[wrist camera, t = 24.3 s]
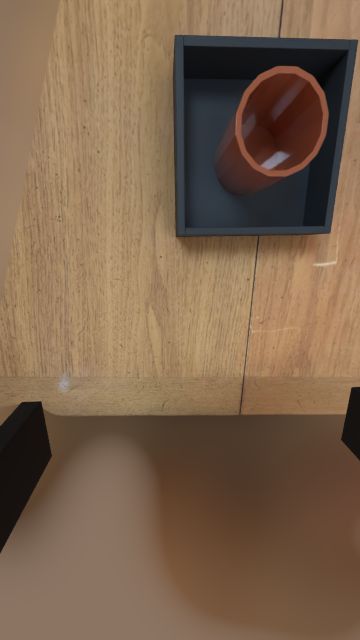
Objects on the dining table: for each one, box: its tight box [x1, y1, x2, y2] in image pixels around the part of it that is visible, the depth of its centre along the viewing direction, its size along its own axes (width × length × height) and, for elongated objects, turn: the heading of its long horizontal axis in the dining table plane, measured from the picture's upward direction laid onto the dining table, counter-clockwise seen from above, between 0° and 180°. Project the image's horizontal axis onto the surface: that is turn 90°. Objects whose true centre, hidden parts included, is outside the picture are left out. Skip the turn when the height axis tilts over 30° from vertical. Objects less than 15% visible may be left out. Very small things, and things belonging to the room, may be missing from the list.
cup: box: [214, 66, 329, 196], centre depth 27 cm, size 8×8×10 cm
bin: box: [173, 35, 358, 237], centre depth 29 cm, size 18×18×6 cm
